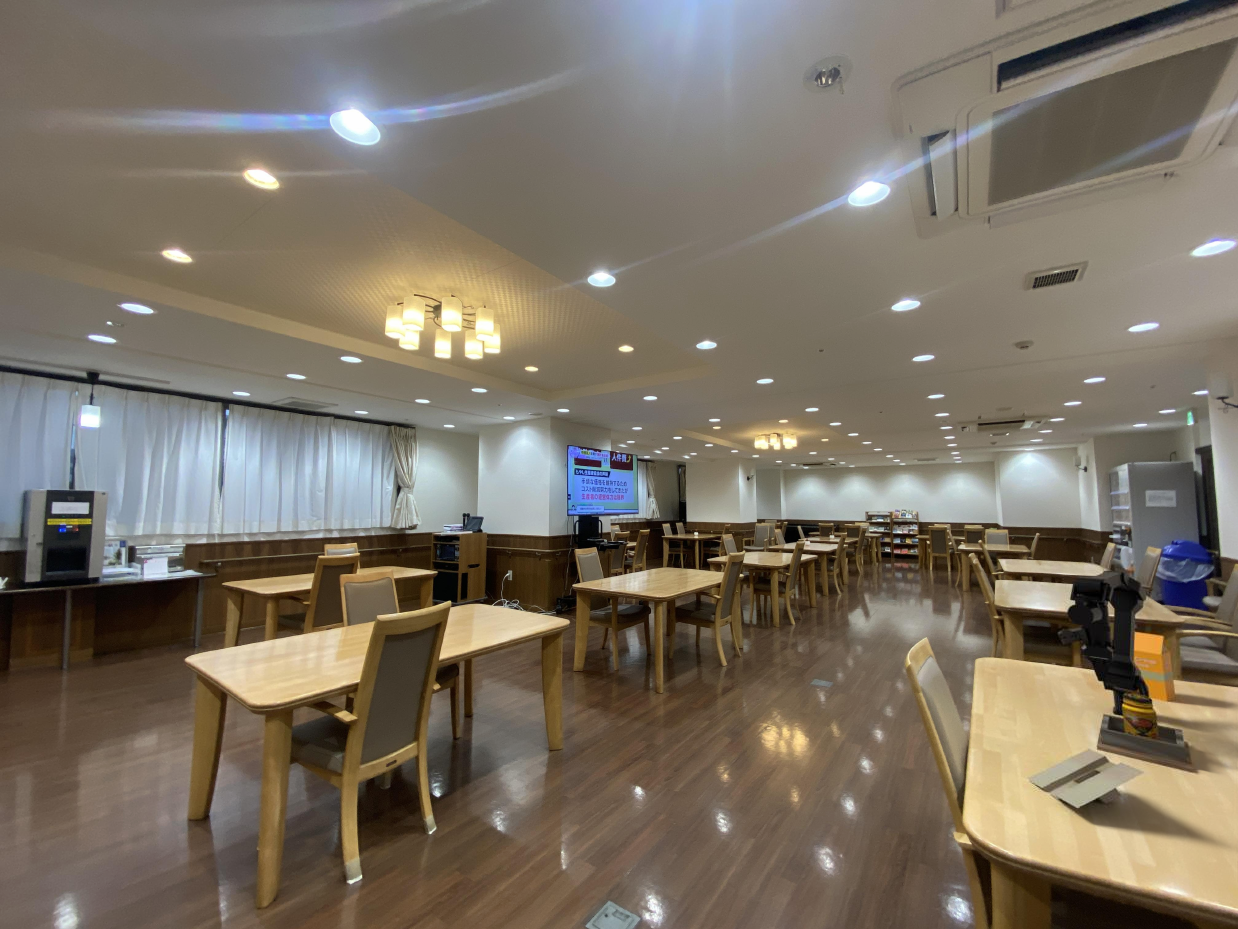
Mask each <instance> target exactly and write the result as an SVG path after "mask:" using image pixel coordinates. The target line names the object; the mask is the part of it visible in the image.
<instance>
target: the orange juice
mask: <svg viewBox="0 0 1238 929" xmlns="http://www.w3.org/2000/svg"><path fill="white" fill-rule="evenodd" d="M1171 657H1172V656H1171V651H1170V649H1169V647H1168V644H1167V642H1166V639H1165V637H1164V635H1160V634H1153V633H1146V632H1140V631H1135V639H1134V663H1135V664H1136V666H1137V667H1138V668H1139V670H1140V671H1141V676H1142V677H1143V679H1144V681H1145V683H1146V685H1147V686H1148V691H1149V698H1151V699H1152V700H1153V699H1154V700H1159V701H1163V702H1169V701H1171V700H1173V699H1176V698H1177V697H1176V691H1175V690H1176V689H1175V684H1174V672H1173V666H1172V658H1171ZM1138 691H1139V690H1138Z"/></svg>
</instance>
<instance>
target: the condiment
mask: <svg viewBox="0 0 1238 929" xmlns="http://www.w3.org/2000/svg"><path fill="white" fill-rule="evenodd" d="M1123 698H1124V699H1123V702H1124V703H1123V705H1122V711H1123V715H1122V718H1123V720H1124V727H1125V733H1126V734H1131V735H1135V736H1140V737H1145V738H1149V739H1154V740H1158V741H1159V733H1158V725H1159V724H1158V720H1157V711H1156V710H1155V708H1154V704H1153V698H1149V697H1148V696H1145V695H1141V694H1135V693H1124V694H1123Z"/></svg>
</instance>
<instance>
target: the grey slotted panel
mask: <svg viewBox="0 0 1238 929" xmlns="http://www.w3.org/2000/svg"><path fill="white" fill-rule="evenodd" d="M1145 773H1146V772H1145V771H1142V770H1140V769H1138V768H1136V767H1134V766H1131V765H1130V764H1126V763H1124V762H1120V763H1117V764H1116V763H1114V762H1112V761H1110V760H1109V759H1108V758H1107V756H1106V755H1104V754H1103V753H1100V752H1098V751H1095V750H1093V749H1091V748H1088V749H1086V750H1084V751H1082V752H1080V753H1077V754H1075V755H1073V756H1070V757H1069V758H1066V759H1064V760H1063V761H1061V762H1058V763H1057V764H1055V765H1053V766H1050V767H1048V768H1046V769H1044V770H1041V771H1040V772H1037V773H1036V774H1033V775H1032V776H1029V777H1027V779H1028V781H1029V782H1031V783H1032V784H1034V785H1035V786H1037V787H1040V788H1041V789H1042V790H1043V791H1044V792H1045V793H1048V794H1049V795H1050V796H1052V797H1054V798H1055V799H1057V800H1062V801H1064V802H1066V803H1068V804H1069V805H1071V806H1073V807H1075V808H1077V809H1080V807H1082V806H1085V805H1086V804H1088V803H1090V802H1092V801H1095V800H1098V801H1099V802H1101V803H1104V804H1108V803H1111V802H1112V801H1114V800H1116V799H1118V798H1120V797H1122V795H1121V793H1120V792H1119V791H1118V789H1117V788H1118V787H1120V786H1121V785H1123V784H1125V783H1128V782H1129V781H1131V780H1133V779H1135V778H1137V777H1139V776H1141V775H1143V774H1145Z"/></svg>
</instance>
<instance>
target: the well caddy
mask: <svg viewBox="0 0 1238 929" xmlns="http://www.w3.org/2000/svg"><path fill="white" fill-rule="evenodd" d="M1158 733H1159V741H1158V740H1154V739H1149V738H1145V737H1140V736H1135V735H1131V734H1126V733H1125V727H1124V720H1123V717H1121V716H1115V715H1111V714H1106V713H1103V715H1102V719H1101V724H1100V728H1099V733H1098V738H1097V741H1096V742H1097V743H1096V749H1097V750H1099V751H1102V752H1107V753H1111V754H1116V755H1119V756H1123V757H1127V758H1132V759H1136V760H1140V761H1144V762H1149V763H1152V764H1156V765H1161V766H1163V767H1169V768H1173V769H1178V770H1181V771H1185V772H1189V773H1194V768H1193V763H1192V758H1191V752H1190V746H1189V742H1188V741H1186V740H1185V739H1184V733H1183V729H1181V728H1180V729H1179V728H1174V727H1170V726H1164V725H1160V724H1158ZM1184 740H1185V741H1184Z"/></svg>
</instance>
